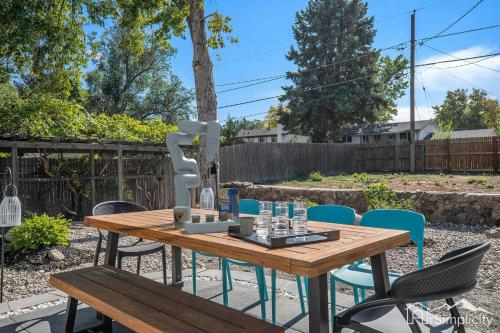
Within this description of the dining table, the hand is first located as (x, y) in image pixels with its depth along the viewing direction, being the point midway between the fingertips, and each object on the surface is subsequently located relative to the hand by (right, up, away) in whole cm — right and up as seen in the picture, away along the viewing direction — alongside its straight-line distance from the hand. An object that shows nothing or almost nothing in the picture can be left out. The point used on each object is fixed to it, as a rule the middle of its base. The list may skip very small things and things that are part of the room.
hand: (213, 174), depth 222 cm
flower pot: (+19, -31, -21) cm, 42 cm away
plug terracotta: (+6, -29, -4) cm, 30 cm away
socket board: (-1, -31, -7) cm, 32 cm away
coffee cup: (-20, -32, +6) cm, 37 cm away
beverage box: (+8, -31, +18) cm, 37 cm away
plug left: (-9, -31, -10) cm, 33 cm away
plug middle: (-1, -30, -7) cm, 31 cm away
